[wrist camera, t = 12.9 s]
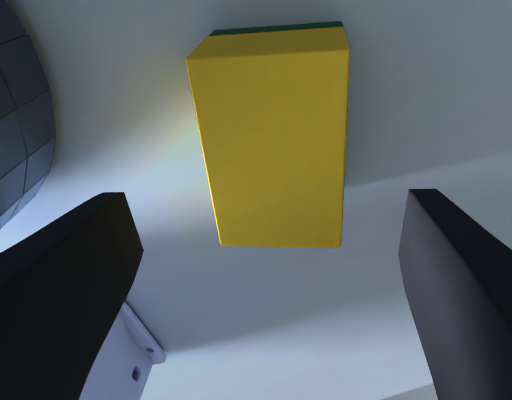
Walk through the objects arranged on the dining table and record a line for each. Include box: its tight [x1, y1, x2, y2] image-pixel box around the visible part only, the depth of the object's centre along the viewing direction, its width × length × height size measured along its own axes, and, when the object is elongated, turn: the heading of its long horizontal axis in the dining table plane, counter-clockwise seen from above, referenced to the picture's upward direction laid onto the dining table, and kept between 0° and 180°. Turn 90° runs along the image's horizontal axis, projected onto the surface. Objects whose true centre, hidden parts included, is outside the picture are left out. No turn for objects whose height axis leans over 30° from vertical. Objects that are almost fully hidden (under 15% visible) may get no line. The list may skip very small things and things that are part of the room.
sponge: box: [186, 21, 350, 248], centre depth 13 cm, size 7×4×4 cm, turn 6°
